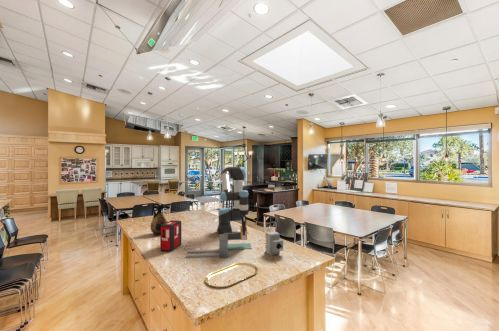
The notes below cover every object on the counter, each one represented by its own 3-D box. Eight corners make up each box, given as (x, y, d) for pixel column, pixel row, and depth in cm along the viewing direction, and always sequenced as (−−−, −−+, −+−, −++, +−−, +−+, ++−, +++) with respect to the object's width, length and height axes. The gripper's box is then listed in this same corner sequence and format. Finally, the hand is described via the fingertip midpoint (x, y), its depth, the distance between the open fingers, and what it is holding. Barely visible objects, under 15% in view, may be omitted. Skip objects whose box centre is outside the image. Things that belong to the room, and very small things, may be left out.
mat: (226, 244, 191) (226, 243, 191) (250, 243, 193) (250, 243, 193) (226, 249, 179) (226, 249, 179) (251, 248, 181) (251, 248, 181)
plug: (223, 238, 187) (223, 226, 187) (248, 237, 189) (248, 225, 189) (223, 240, 182) (223, 227, 182) (248, 239, 184) (248, 227, 184)
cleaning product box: (171, 244, 192) (171, 220, 192) (181, 244, 190) (181, 220, 190) (160, 251, 176) (160, 225, 176) (170, 252, 174) (171, 225, 174)
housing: (188, 251, 176) (188, 235, 176) (227, 249, 179) (227, 233, 179) (185, 259, 161) (185, 241, 161) (227, 257, 164) (227, 240, 164)
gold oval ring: (199, 280, 133) (199, 277, 133) (243, 262, 157) (243, 260, 157) (218, 293, 119) (218, 290, 119) (263, 271, 143) (263, 269, 143)
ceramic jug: (167, 231, 229) (167, 201, 229) (167, 235, 214) (167, 203, 214) (149, 232, 223) (149, 202, 223) (147, 237, 209) (147, 204, 209)
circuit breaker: (275, 258, 163) (275, 237, 163) (265, 251, 175) (265, 232, 175) (284, 256, 166) (284, 235, 166) (273, 250, 179) (273, 230, 179)
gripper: (238, 207, 195) (238, 234, 195) (239, 211, 177) (239, 241, 177) (247, 207, 196) (247, 234, 196) (249, 211, 178) (249, 241, 178)
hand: (243, 238), depth 186 cm, fingers closed on plug, 5 cm apart
